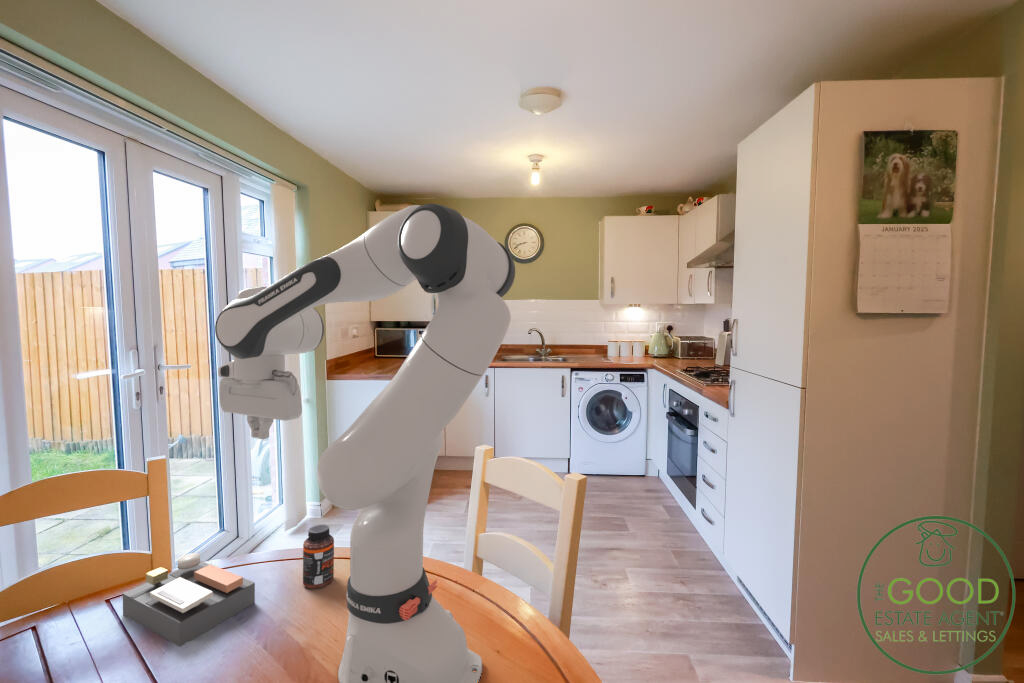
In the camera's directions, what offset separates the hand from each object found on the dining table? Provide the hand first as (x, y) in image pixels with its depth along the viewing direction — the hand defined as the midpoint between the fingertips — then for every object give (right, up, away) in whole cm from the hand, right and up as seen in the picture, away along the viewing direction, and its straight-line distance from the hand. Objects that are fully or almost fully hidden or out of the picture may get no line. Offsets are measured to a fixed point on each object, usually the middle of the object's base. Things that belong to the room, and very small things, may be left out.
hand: (260, 438), depth 88 cm
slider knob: (-16, -27, -5) cm, 32 cm away
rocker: (-8, -26, -10) cm, 29 cm away
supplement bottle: (+10, -31, +4) cm, 33 cm away
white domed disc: (-14, -25, 0) cm, 29 cm away
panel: (-10, -31, -5) cm, 33 cm away
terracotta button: (-5, -26, -4) cm, 27 cm away
